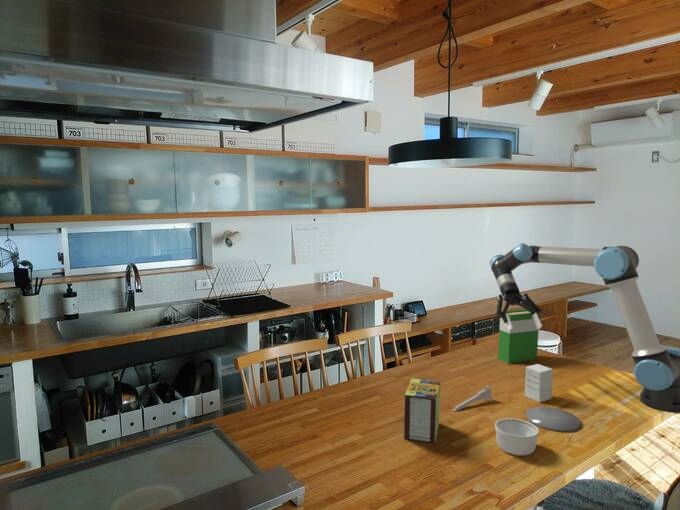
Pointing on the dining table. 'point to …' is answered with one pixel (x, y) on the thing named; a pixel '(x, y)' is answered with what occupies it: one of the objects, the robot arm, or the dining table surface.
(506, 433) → the ramekin
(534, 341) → the green white box
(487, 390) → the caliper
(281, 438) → the dining table surface
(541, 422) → the disc
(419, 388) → the protein box
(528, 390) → the supplement box
